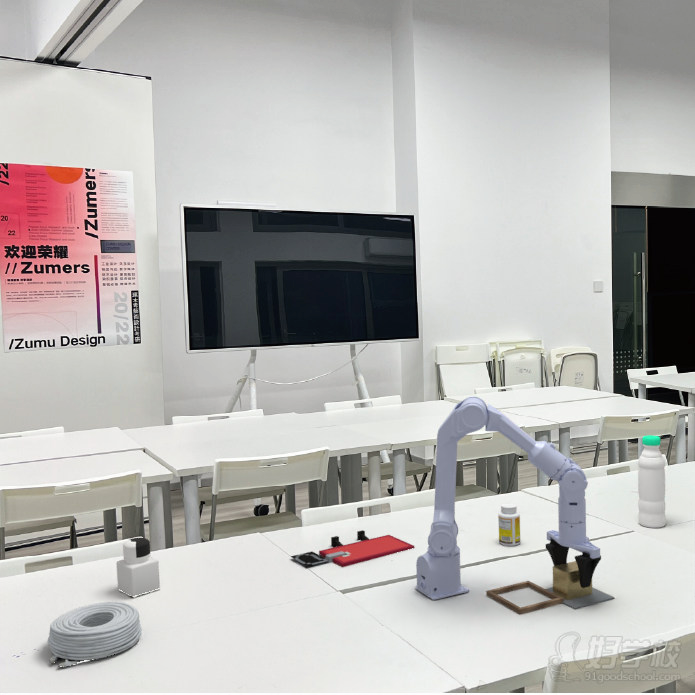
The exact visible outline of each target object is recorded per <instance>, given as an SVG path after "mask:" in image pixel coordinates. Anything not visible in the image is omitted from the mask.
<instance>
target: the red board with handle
mask: <svg viewBox="0 0 695 695" xmlns="http://www.w3.org/2000/svg"><path fill="white" fill-rule="evenodd" d="M356 536H357V541H356V542H351V543H347V544H343V543H342V542H341V541H340V536H338V535H335V536H331V537H330V543H331V544H330V548H326V549H322V550H319V551H318V553H317V552H314V551H308V552H304V553H300V554H296V555H290V558H292V559H294V560H295V561H298V562H299V563H301V564H303V566H305V567H310V566H314V565H318V564H322V563H325V562H327V563H328V564H330V563H334V564H335V565H338V566H340V567H341V568H345V567H349V566H354V565H356V564H359V563H364V562H367V561H372V560H376V559H378V558H382V557H386V556H390V554H391V555H394V554H398V553H402V552H404V551H405V552H406V551H408V549H409V550H413V549H415V545H413V544H411V543H408V542H407V541H404V540H402V539H400V538H398V537H395V536H393V535H390V534H387V535H382V536H377V537H374V538H373V537H372V538H369V537H367V535H366V531H365V530H359V531H357V534H356ZM358 540H361V541H358ZM336 546H337V547H336ZM412 548H413V549H412ZM401 551H402V552H401ZM397 552H398V553H397Z"/></svg>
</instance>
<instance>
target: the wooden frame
mask: <svg viewBox="0 0 695 695" xmlns="http://www.w3.org/2000/svg"><path fill="white" fill-rule="evenodd" d="M525 588H529V589H531V590H534V591H535V592H538V593H539V594H542V595H543V596H545V597H547V598H548V600H544V601H541V602H536V603H533V604H529V605H525V606H521V607H520V606H519V605H516V604H515V603H514V602H511V601H510V600H507V599H506V598H504V597H503V596H501V595H500V594H505V593H509V592H513V591H517V590H520V589H525ZM546 589H547V588H544V587H542V586H540V585H538V584H536V583H533V582H532V581H530V580H526V581H521V582H518V583H517V582H516V583H513V584H508V585H506V586H501V587H498V588H493V589H488V590H486V596H487V597H489V598H490V599H493V600H494V601H495V602H498V603H499V604H501V605H502V606H504V607H506V608H508V609H510V610H511V611H513V612H515V613H516V614H518V615H523V614H527V613H530V612H535V611H538V610H543V609H546V608H550V607H553V606H557V605H561V604H563V602H564V598H562V597H560V596H558V595H556V594H554V593H552V592H550V591H548V590H546Z"/></svg>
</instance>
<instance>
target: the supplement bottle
mask: <svg viewBox="0 0 695 695" xmlns="http://www.w3.org/2000/svg"><path fill="white" fill-rule="evenodd" d="M497 515H498V516H497V518H498V542H499V543H500V545H503V546H507V547H516V546H518V545H519V544H521V517H520V516H521V515H520V512H518V511H517V505H516V504H515V503H502V504H501V505H500V511H499V512H498V514H497Z"/></svg>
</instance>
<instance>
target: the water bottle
mask: <svg viewBox="0 0 695 695" xmlns="http://www.w3.org/2000/svg"><path fill="white" fill-rule="evenodd" d="M641 440H642V441H641V442H642V446H643V450H642V451H641V454H640V455H639V458H638V459H637V465H638V472H637V478H638V479H637V488H638V503H637V506H638V520H637V521H638V524H639V525H641V526H642V527H644V528H651V529H659V528H663V527H664V526H665V525H666V501H665V497H666V470H665V467H666V460H665V459H664V457H663V454H662V451H660V446H661V442H662V441H661V437H660V436H658V435H649V434H648V435H643V436H642V438H641Z"/></svg>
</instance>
